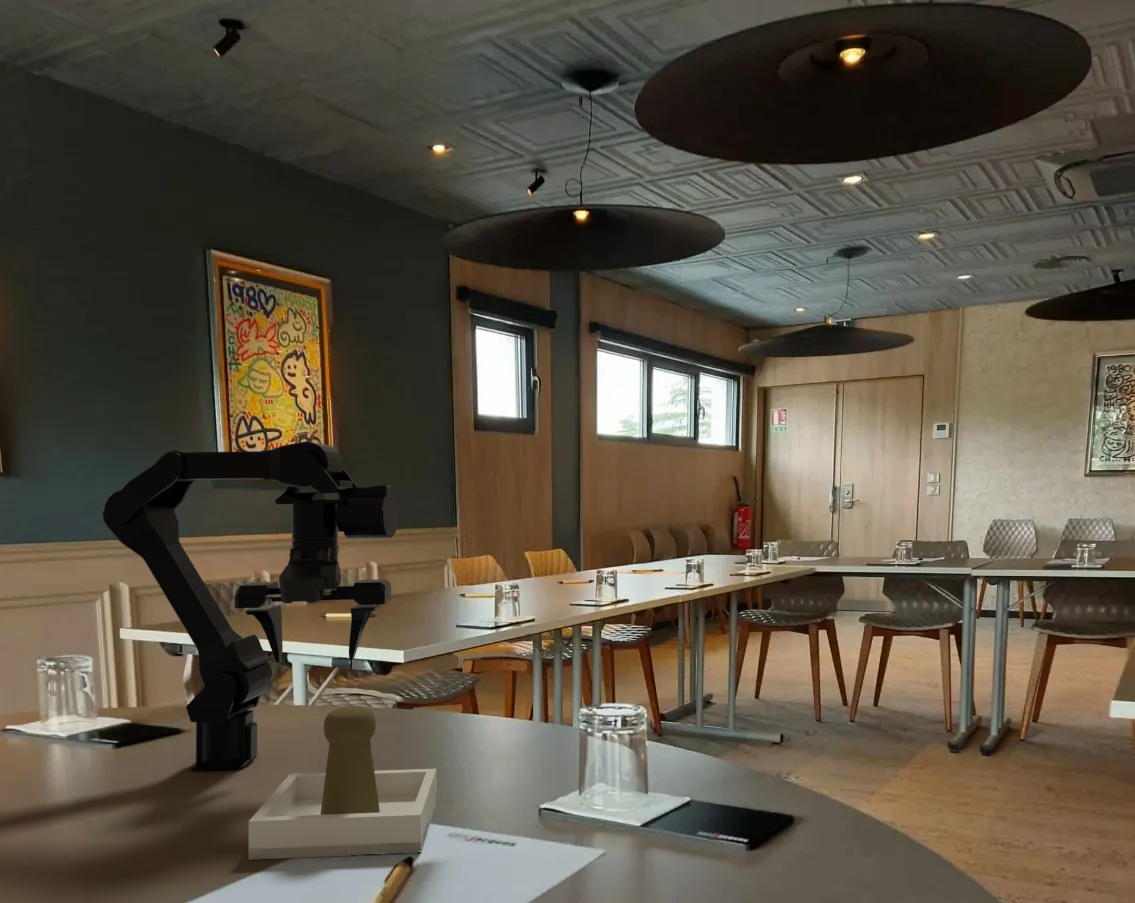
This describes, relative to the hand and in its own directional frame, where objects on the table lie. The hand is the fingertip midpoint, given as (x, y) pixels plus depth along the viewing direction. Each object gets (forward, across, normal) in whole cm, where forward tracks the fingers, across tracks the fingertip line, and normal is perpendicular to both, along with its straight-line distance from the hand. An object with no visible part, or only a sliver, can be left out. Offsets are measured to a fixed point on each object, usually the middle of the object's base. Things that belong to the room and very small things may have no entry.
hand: (315, 661), depth 108 cm
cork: (+12, +9, -22) cm, 27 cm away
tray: (+13, +9, -22) cm, 27 cm away
